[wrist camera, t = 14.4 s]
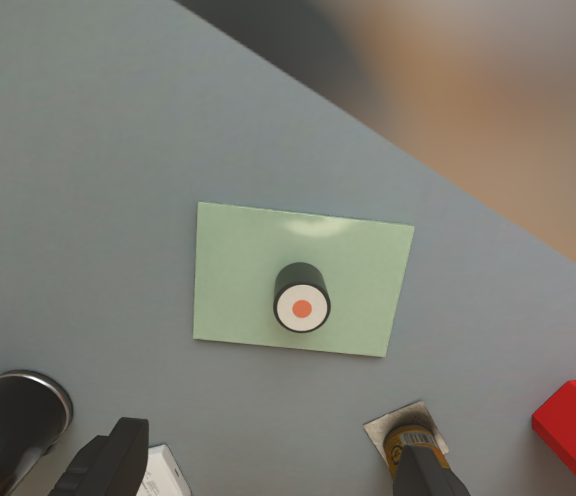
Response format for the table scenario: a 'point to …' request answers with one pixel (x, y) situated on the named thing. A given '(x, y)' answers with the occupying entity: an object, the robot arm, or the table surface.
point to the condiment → (406, 434)
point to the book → (559, 424)
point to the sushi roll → (301, 298)
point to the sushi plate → (290, 249)
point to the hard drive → (162, 475)
